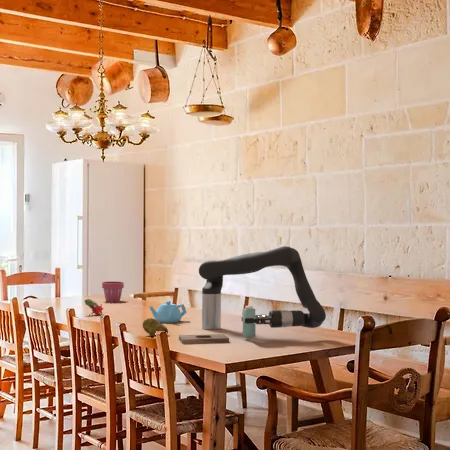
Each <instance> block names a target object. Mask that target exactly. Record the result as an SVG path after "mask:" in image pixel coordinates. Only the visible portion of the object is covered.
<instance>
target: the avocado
mask: <svg viewBox="0 0 450 450" xmlns="http://www.w3.org/2000/svg"><path fill="white" fill-rule="evenodd" d="M142 328H143V331H144V332H146V333H147V334H149V336H150V337H153V338H154V336H155V333H156V331H165V332H167V335H168V333H169V329H168V328H167V327H166V326H165V325H164V323H160V322H159V321H157V320H156V319H155V318H154V317H149V318H146V319H144V321H143V323H142ZM155 337H156V336H155Z"/></svg>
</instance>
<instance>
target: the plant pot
mask: <svg viewBox="0 0 450 450" xmlns="http://www.w3.org/2000/svg"><path fill="white" fill-rule="evenodd" d="M124 287H125V282H124V281H118V280H117V281H114V280H113V281H109V280H108V281H103V282H102V284H101V288H102V289H103V292H104V298H105V302H107V303H119V302H121V298H122V292H123V289H124Z"/></svg>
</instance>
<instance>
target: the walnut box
mask: <svg viewBox="0 0 450 450" xmlns="http://www.w3.org/2000/svg"><path fill="white" fill-rule="evenodd" d="M178 340H179V341H180V343H181V344H182V345H192V344H194V345H197V344H224V343H230V337H228V336H227V335H226V334H224V333H220V334H219V333H217V334H216V333H215V334H210V333H209V334H182V335H181V334H179V335H178Z"/></svg>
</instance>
